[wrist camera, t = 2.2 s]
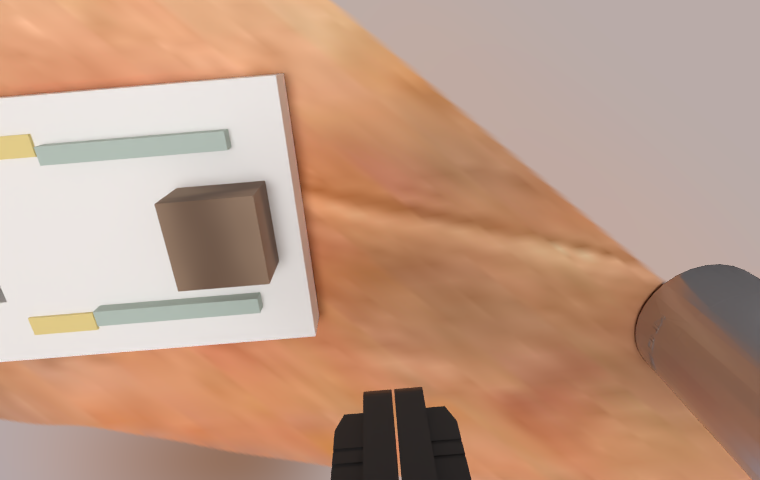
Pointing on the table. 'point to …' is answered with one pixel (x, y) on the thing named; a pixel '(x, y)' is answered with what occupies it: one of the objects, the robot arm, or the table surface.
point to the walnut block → (219, 235)
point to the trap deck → (140, 217)
